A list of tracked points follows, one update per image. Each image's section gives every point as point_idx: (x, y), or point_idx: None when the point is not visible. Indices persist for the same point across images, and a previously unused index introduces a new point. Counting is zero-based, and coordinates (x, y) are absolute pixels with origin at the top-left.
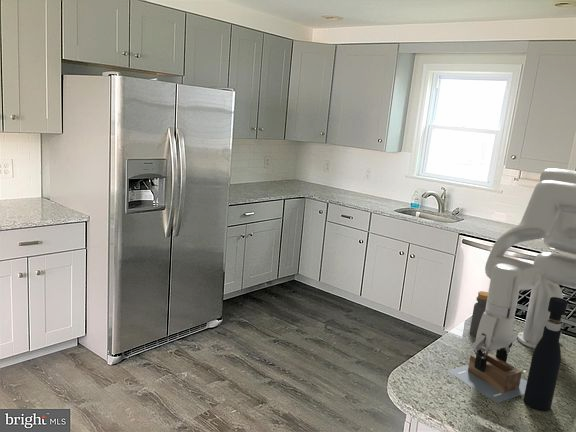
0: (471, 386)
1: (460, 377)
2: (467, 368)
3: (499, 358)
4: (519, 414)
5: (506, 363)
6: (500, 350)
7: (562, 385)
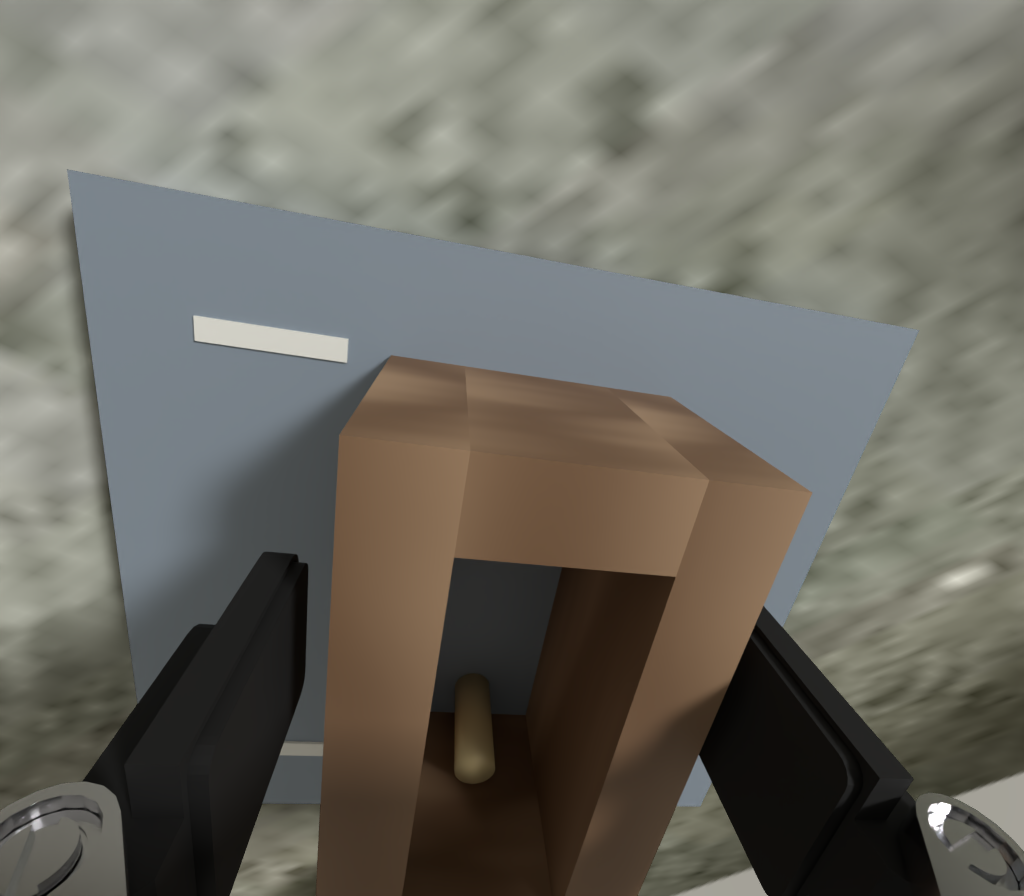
0: (127, 576)
1: (144, 403)
2: (451, 311)
3: (736, 709)
4: (277, 851)
5: (647, 829)
6: (851, 842)
7: (914, 779)
